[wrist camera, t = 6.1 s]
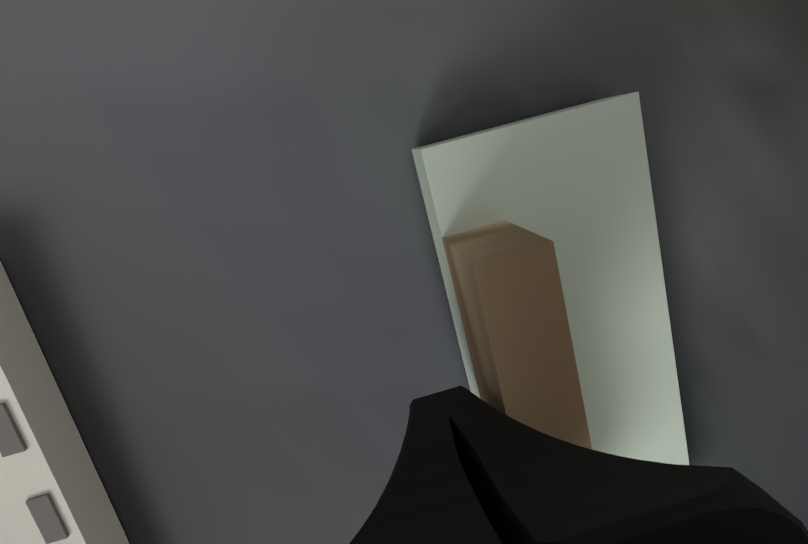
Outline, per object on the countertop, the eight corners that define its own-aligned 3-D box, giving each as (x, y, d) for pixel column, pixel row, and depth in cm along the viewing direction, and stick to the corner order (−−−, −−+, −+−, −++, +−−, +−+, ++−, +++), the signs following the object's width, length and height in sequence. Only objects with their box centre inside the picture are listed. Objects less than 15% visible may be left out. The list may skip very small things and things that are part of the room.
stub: (509, 550, 16) (569, 692, 12) (411, 149, 13) (445, 150, 9) (667, 501, 16) (779, 622, 12) (605, 97, 13) (727, 75, 9)
